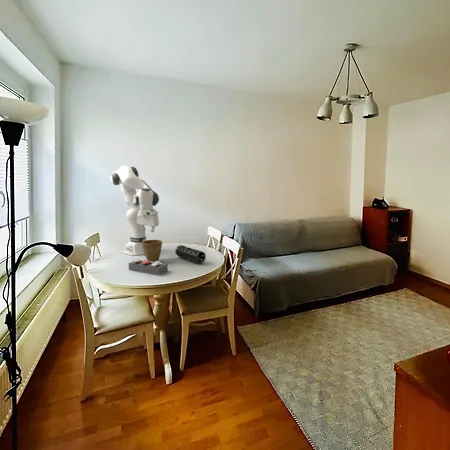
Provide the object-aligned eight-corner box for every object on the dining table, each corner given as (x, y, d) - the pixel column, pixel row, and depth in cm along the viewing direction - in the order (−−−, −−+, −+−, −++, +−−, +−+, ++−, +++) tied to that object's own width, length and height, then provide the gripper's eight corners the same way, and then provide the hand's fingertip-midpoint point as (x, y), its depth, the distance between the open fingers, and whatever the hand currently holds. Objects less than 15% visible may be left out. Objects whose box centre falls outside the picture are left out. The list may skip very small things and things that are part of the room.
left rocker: (132, 262, 209) (132, 259, 209) (138, 261, 214) (138, 259, 214) (136, 263, 207) (136, 260, 207) (142, 262, 213) (142, 260, 213)
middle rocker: (141, 263, 205) (141, 261, 205) (147, 263, 211) (147, 260, 211) (145, 264, 204) (145, 262, 204) (151, 263, 209) (151, 261, 209)
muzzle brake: (196, 266, 221) (196, 252, 219) (174, 258, 240) (173, 245, 238) (206, 263, 227) (206, 250, 225) (183, 255, 247) (183, 243, 245)
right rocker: (151, 267, 203) (150, 264, 202) (156, 263, 208) (156, 260, 207) (155, 267, 201) (154, 265, 201) (160, 263, 206) (160, 261, 206)
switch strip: (128, 269, 211) (128, 262, 210) (138, 265, 220) (138, 258, 219) (158, 275, 200) (158, 267, 199) (167, 270, 209) (167, 263, 208)
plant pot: (166, 260, 233) (166, 240, 230) (153, 265, 220) (152, 244, 217) (152, 257, 240) (151, 238, 237) (138, 262, 227) (137, 242, 224)
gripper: (133, 211, 210) (135, 230, 212) (152, 213, 197) (153, 233, 199) (141, 210, 214) (142, 229, 217) (159, 212, 202) (161, 232, 204)
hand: (148, 231), depth 208 cm, fingers open, 8 cm apart
